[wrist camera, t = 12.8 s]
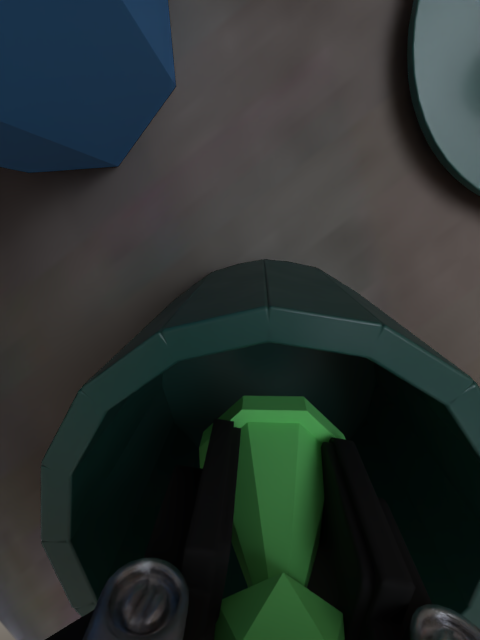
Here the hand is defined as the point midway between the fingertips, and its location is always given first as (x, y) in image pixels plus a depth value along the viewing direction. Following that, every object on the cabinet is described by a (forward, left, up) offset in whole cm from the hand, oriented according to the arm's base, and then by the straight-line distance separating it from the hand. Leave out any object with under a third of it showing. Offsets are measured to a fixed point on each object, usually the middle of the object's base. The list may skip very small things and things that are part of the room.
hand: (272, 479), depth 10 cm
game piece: (0, 0, -1) cm, 1 cm away
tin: (0, 0, -7) cm, 7 cm away
